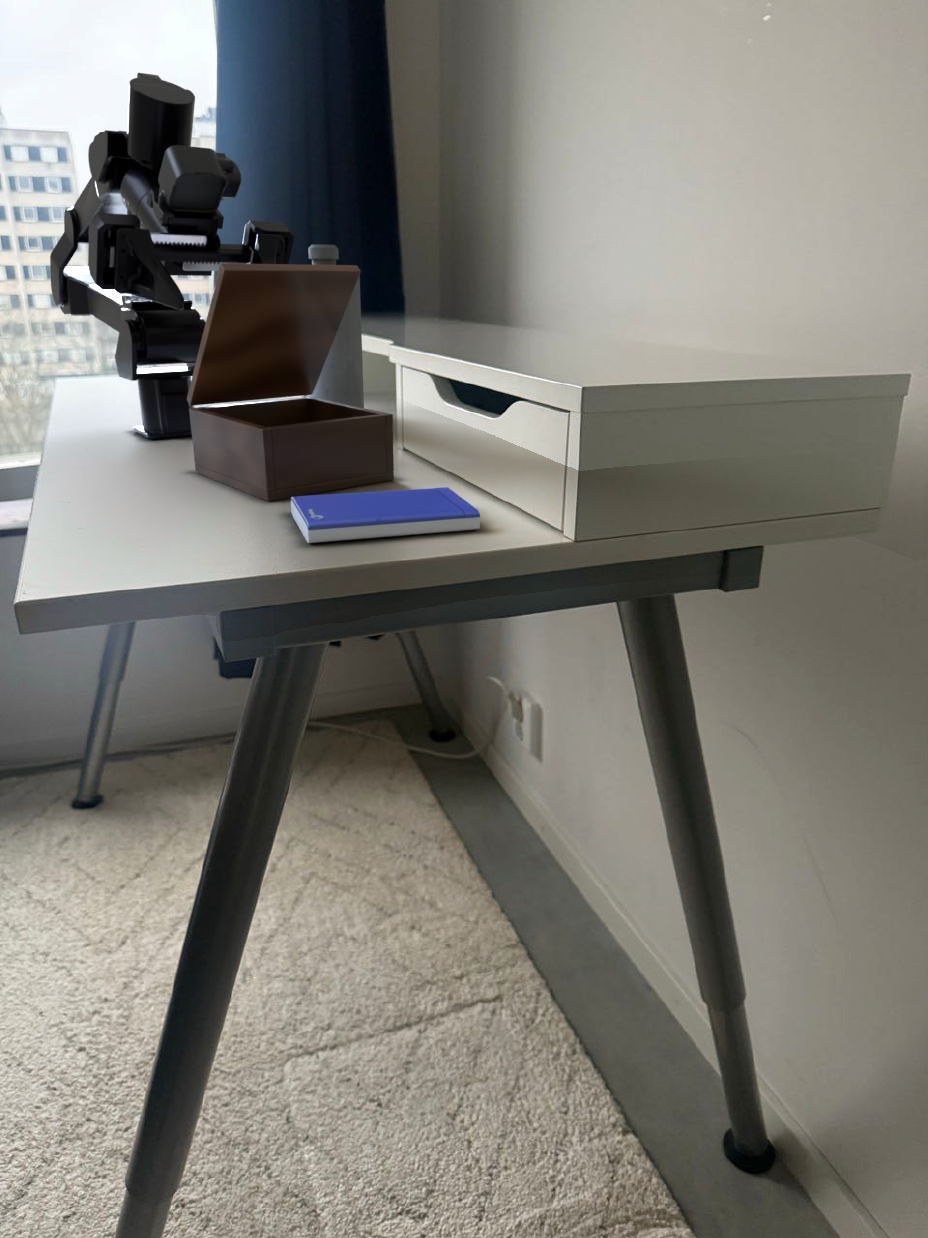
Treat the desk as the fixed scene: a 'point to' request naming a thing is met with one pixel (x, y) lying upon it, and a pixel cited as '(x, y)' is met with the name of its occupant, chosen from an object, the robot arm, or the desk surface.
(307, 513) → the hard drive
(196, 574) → the desk surface
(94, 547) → the desk surface
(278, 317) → the lid
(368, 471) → the keepsake box
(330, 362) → the flask
